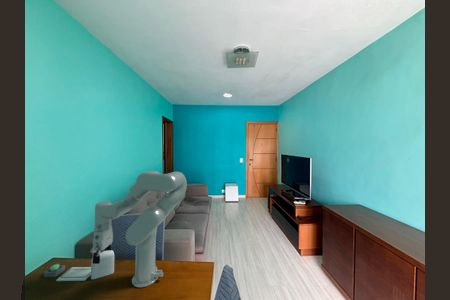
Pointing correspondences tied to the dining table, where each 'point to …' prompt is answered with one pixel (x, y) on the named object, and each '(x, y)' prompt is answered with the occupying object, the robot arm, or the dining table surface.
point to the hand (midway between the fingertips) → (102, 257)
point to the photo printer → (103, 265)
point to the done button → (54, 267)
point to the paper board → (76, 274)
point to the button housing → (54, 274)
